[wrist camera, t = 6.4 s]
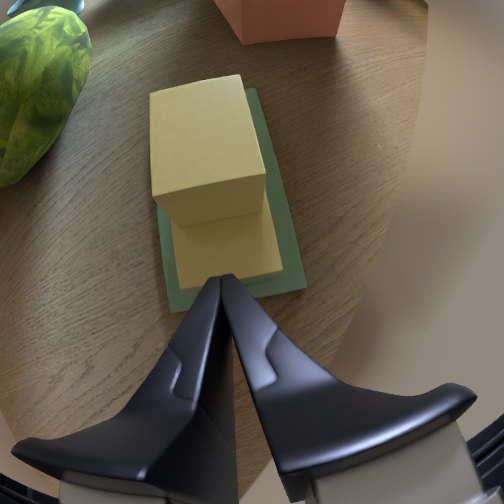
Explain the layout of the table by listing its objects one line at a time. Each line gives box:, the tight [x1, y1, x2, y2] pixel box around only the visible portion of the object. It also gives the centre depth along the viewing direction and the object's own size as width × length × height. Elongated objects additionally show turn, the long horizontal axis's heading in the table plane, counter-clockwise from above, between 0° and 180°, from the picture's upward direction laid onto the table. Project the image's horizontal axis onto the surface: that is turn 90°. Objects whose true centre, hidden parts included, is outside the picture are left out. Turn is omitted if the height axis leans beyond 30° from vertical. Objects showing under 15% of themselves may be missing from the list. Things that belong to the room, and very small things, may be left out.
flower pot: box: [7, 0, 84, 18], centre depth 23 cm, size 16×16×11 cm
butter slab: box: [150, 75, 266, 228], centre depth 13 cm, size 6×5×4 cm
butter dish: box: [156, 88, 307, 313], centre depth 18 cm, size 17×9×4 cm, turn 11°
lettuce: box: [0, 6, 91, 188], centre depth 16 cm, size 16×21×15 cm
